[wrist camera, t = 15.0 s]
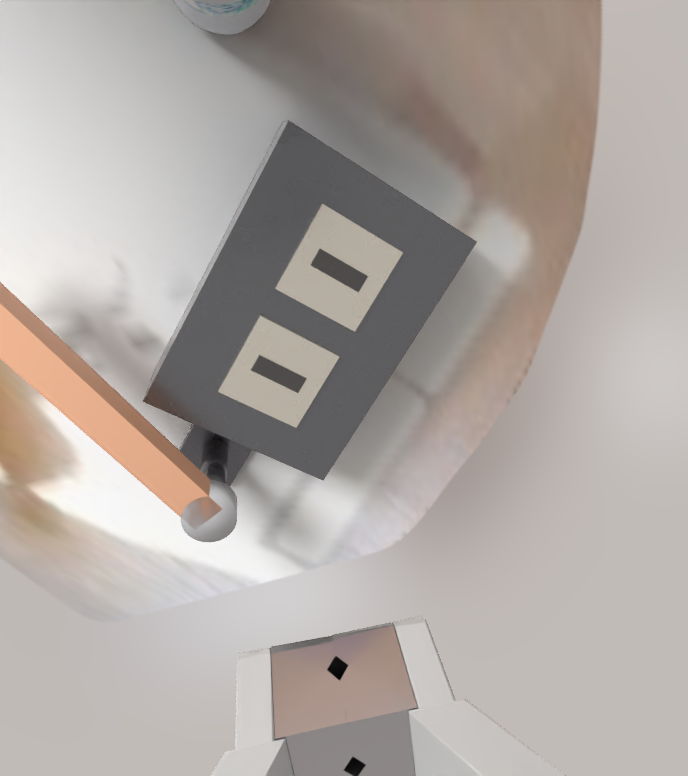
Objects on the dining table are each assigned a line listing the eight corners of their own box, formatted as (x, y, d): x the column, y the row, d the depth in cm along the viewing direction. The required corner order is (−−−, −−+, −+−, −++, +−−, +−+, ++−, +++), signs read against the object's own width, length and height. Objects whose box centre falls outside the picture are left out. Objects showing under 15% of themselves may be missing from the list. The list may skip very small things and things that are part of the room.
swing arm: (247, 502, 42) (247, 522, 40) (208, 531, 43) (206, 553, 41) (-55, 214, 33) (-76, 220, 30) (-101, 256, 33) (-126, 265, 31)
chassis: (155, 369, 46) (141, 403, 40) (282, 121, 40) (288, 120, 35) (314, 442, 50) (323, 483, 44) (448, 228, 45) (478, 242, 39)
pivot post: (173, 459, 49) (161, 514, 42) (201, 409, 48) (193, 457, 41) (229, 482, 50) (227, 539, 43) (257, 435, 49) (259, 485, 42)
